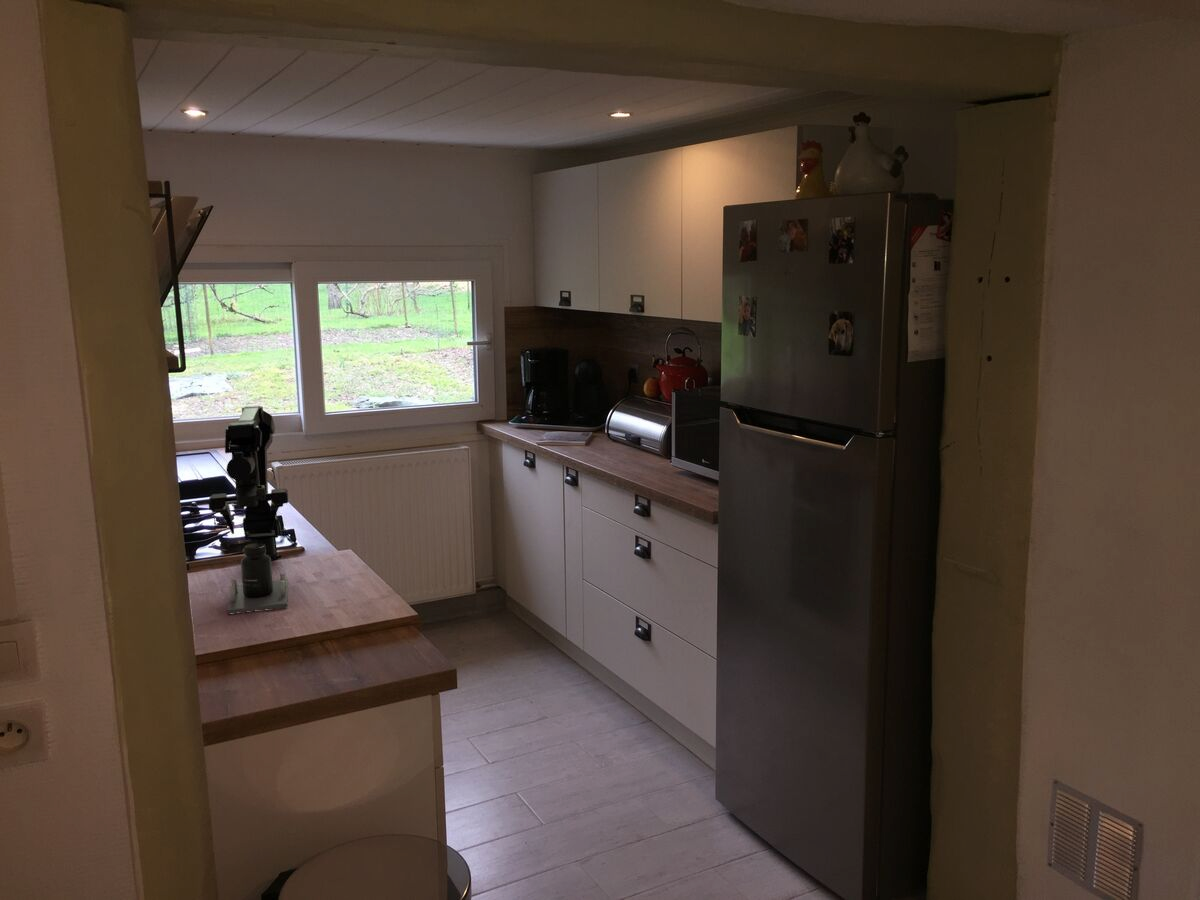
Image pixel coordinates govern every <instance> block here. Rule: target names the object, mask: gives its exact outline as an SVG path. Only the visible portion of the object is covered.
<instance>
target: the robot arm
mask: <svg viewBox="0 0 1200 900" xmlns="http://www.w3.org/2000/svg"><path fill="white" fill-rule="evenodd" d="M275 427H276V426H275V422H274V419H273V415H272V414H270V413H268V412H267V411H265V410H264V409H263V406H261V405H247V406H246V405H245V406H244V407H242V408H241V414H240V416H239V418H238V419H237V420H236V421H235V420H234V421H231V422H230V423H228V426H227V427H226V428H225V436H224V437H225V440H224V441H225V442H224V453H225V454H231V459H230V460H229V461H228V462H227V465H226V473H227V475H228V477H229V478H231V479H233V480H234V481H235V489H234V495H235V496H234V495H233V496H228V495H227V493H214V494H211V495H210V497H209V499H208V509H209V510H210V511H215V514H216V513H217V514H218V513H219V514H220V515H221V516H222V517H223V519H224V520H225V523H226V524H227V526H228V528H229V531H230V533H231V535H234V534H235V528H234V522H233V518H232V517H233V516H232V513H231V507H230V505H234V504H235V505H237V507H238V508H240V509H241V508H245V509H244V510H245V511H244V512H245V513H244V517H243V519H242V527H243V534H244V538H245V539H244V540H246V541H248V540H249V541H250V544H254V543H262V544H265V547H266V553H265V554H266V555H268V556H269V557H270V558H271V561H273V560H275V559H278V558H280V557H282V553H278V552H277V551H278V549H277V540H276V539H277V538H279V537H281V536H282V529H281V523H280V520H279V519H278V517H277V513H278V510H279V508H282V507H284V504H288V503H289V492H288V491H289V490H288V489H287V488H285V487H283V488H274V489H273V488H272V489H271V491H270V493H269V490H268V489H269V487H268V486H269V483H268V482H269V481H268V480H269V479H268V452H267V451H268V450H269V447H270V446H271V445H272V443H273V441H274V440H273V437H274V435H275V432H276V431H275V429H276V428H275ZM269 502H271V503H269Z"/></svg>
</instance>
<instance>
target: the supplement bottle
mask: <svg viewBox="0 0 1200 900" xmlns="http://www.w3.org/2000/svg"><path fill="white" fill-rule="evenodd" d="M243 551H244V552H243V555H244V556H243V557H242V558H241V560H240V569H241V570H240V571H241V572H240V573H241V582H242V584H243V594H244V595H245V596H246V597H248V598H260V597H265V596H268V595H270V594H271V593H272V592H273V581H274V580H273V571H272V568H273V567H272V560H271V558H270V557H269V556H268V555H266V554H265V553H266V547H265V544H262V543H254V544H251V543H250V544H246V545H245V546H243Z"/></svg>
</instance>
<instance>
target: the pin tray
mask: <svg viewBox="0 0 1200 900" xmlns="http://www.w3.org/2000/svg"><path fill="white" fill-rule="evenodd" d="M279 577H280V579H279V580H272V581H273V592H272V593H271V594H270V595H268V596H265V597H260V598H248V597H246V596H245V595H244V594H243V584H237V583H238V582H237V578H236V577H233V578H230V583H231V585H230V586H228V588H229V601H228V606H227V615H228V614H230V613H237V612H247V611H255V610H265V609H275V610H277V609H276V608H283V609H287V608H288V604H287V602H288V600H289V599H288V598H289V578H288V579H286V573H285V572H280V573H279ZM286 607H287V608H286Z"/></svg>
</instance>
